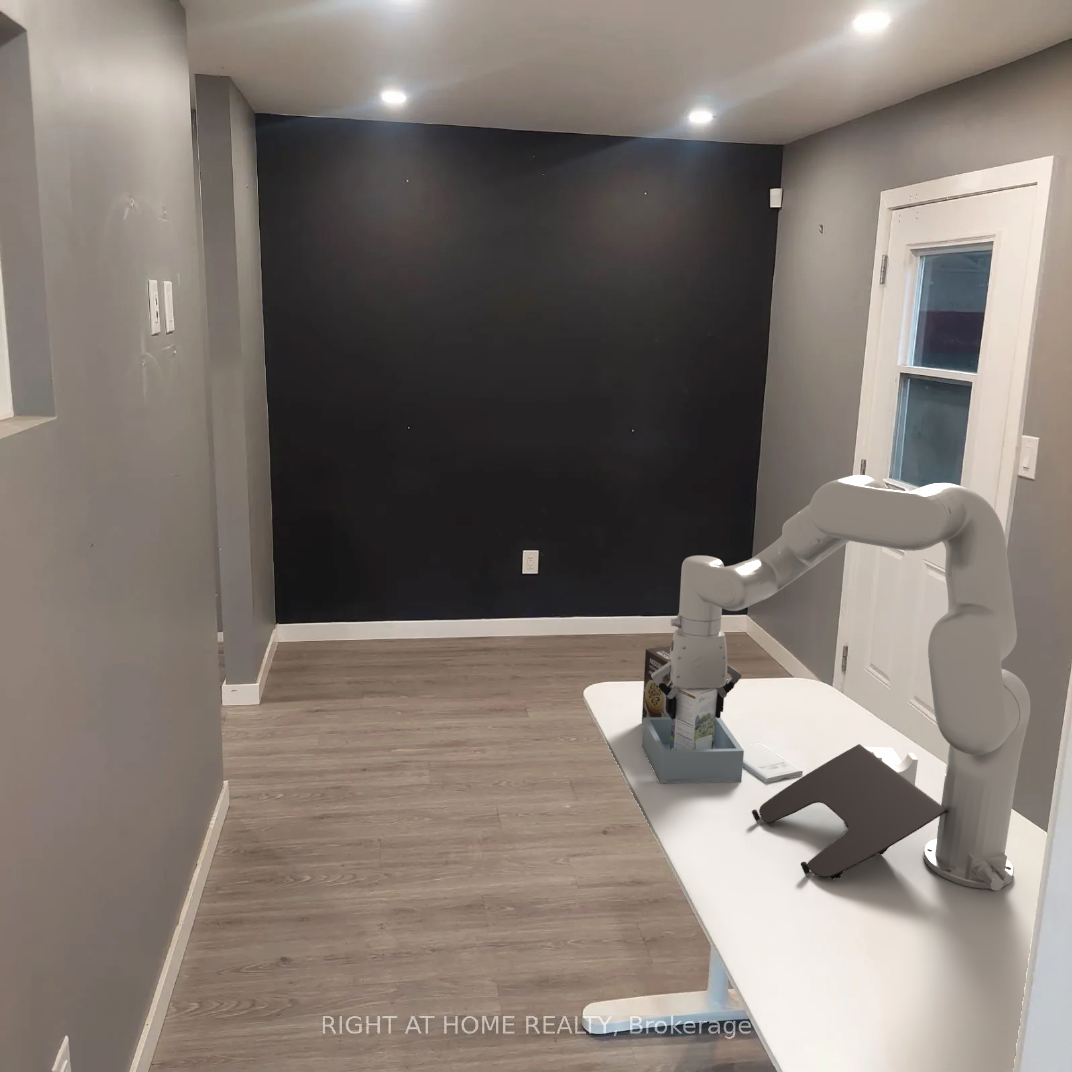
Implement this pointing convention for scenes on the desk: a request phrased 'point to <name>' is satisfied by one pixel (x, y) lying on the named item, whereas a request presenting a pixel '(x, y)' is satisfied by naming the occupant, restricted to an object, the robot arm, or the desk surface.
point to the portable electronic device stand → (855, 808)
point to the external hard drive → (767, 763)
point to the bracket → (897, 762)
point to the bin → (691, 755)
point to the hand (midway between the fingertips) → (693, 715)
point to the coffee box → (652, 694)
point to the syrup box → (694, 719)
